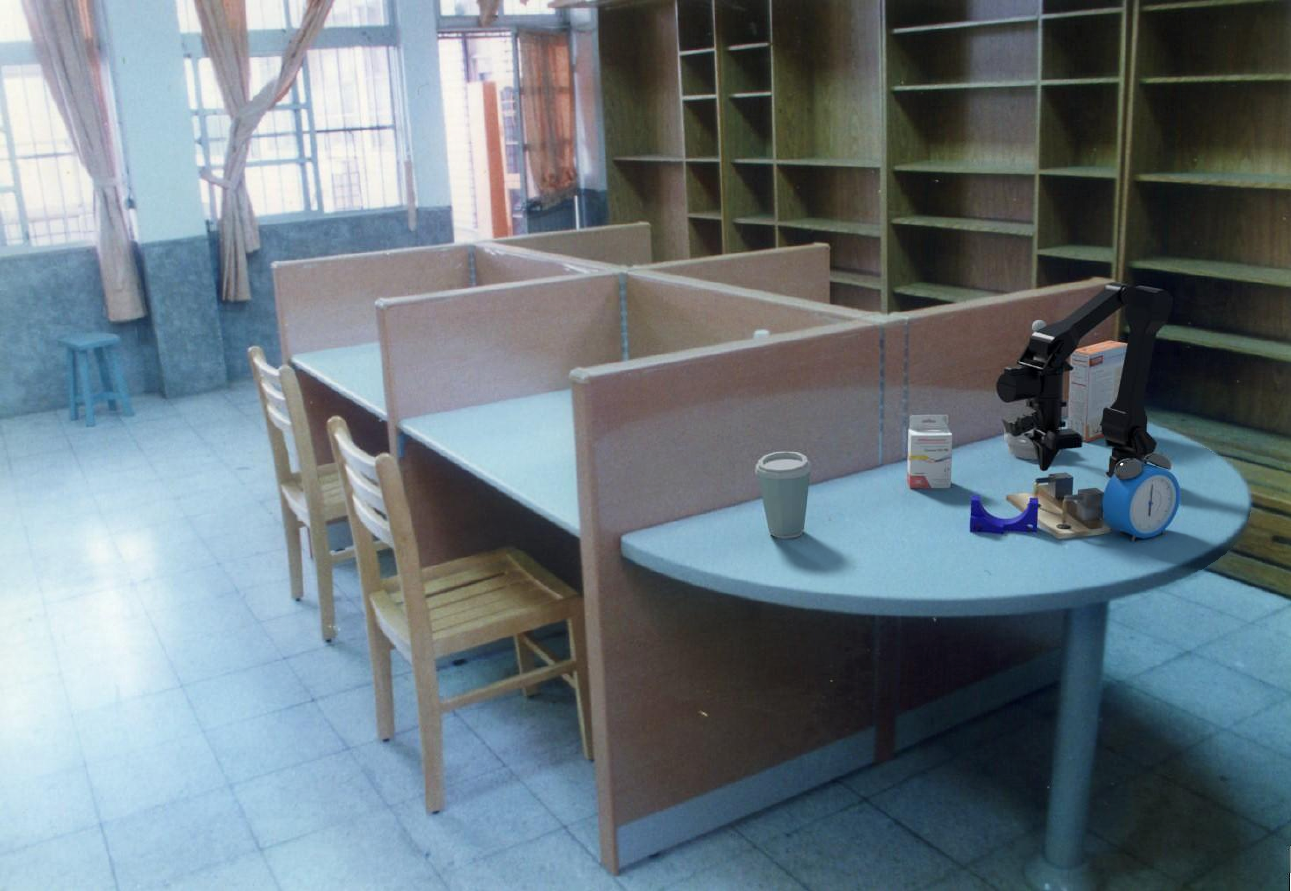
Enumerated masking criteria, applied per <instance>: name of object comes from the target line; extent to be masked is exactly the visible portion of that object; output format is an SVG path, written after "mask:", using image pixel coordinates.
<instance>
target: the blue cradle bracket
mask: <svg viewBox="0 0 1291 891" xmlns="http://www.w3.org/2000/svg"><path fill="white" fill-rule="evenodd" d="M1037 522H1038V498H1030V501H1029V504H1028V506H1027V508H1026V509H1025V511H1024V512H1021V513H1020V514H1018V515H1016V516H1014V517H1011V518H1009V517H1008V518H1002V517H997V516H994V515H993V514H991V513H989V511H987V510H986V509H985V508H984V506H983V503H982V500H981V495H980V494H971V499H970V516H969V532H970V533H981V534H983V533H985V534H998V535H999V534H1001V535H1003V534H1004V532H1015V533H1017V532H1018V533H1020V532H1021V533H1032V534H1034V533H1035V534H1037V533H1038V523H1037Z"/></svg>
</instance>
